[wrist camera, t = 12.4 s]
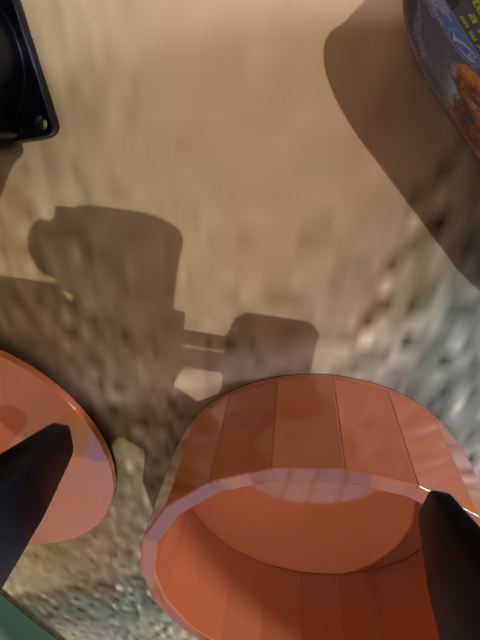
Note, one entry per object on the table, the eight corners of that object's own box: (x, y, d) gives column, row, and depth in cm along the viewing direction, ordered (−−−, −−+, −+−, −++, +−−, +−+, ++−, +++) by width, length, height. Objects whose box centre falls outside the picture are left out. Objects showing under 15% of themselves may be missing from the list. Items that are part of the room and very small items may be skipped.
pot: (145, 378, 23) (95, 466, 17) (491, 367, 20) (569, 470, 14) (201, 565, 32) (180, 664, 26) (450, 579, 28) (488, 697, 23)
